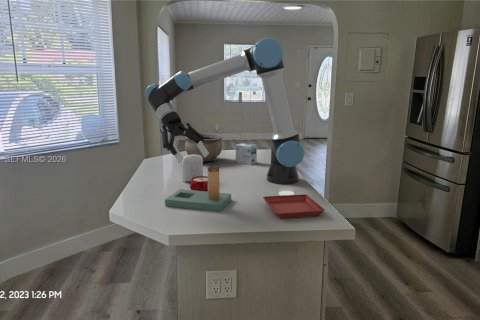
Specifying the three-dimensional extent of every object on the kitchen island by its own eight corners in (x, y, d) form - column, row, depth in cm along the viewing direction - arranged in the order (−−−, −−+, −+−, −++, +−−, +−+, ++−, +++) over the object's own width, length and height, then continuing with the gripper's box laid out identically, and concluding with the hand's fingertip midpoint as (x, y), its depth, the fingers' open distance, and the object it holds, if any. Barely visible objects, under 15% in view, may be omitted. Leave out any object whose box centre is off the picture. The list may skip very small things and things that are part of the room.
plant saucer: (325, 218, 130) (325, 209, 130) (276, 221, 127) (276, 212, 126) (305, 201, 148) (306, 193, 147) (262, 204, 144) (262, 196, 143)
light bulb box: (256, 163, 214) (257, 144, 212) (251, 165, 209) (251, 146, 206) (241, 160, 220) (241, 142, 217) (235, 162, 214) (235, 144, 212)
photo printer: (200, 177, 181) (199, 152, 178) (204, 179, 178) (204, 154, 175) (180, 180, 175) (180, 155, 173) (184, 182, 172) (184, 156, 169)
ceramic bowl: (202, 155, 234) (202, 131, 230) (230, 160, 221) (230, 135, 218) (177, 161, 216) (176, 136, 213) (205, 166, 204) (205, 139, 200)
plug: (220, 196, 144) (220, 166, 141) (217, 200, 140) (217, 169, 137) (210, 195, 145) (209, 165, 142) (206, 199, 141) (205, 168, 138)
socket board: (231, 199, 148) (231, 193, 148) (220, 211, 135) (220, 204, 134) (180, 194, 154) (180, 189, 153) (165, 205, 141) (164, 199, 140)
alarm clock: (213, 175, 171) (213, 176, 156) (213, 189, 171) (213, 191, 156) (190, 176, 170) (188, 177, 155) (190, 189, 170) (188, 192, 155)
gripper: (187, 120, 163) (212, 158, 157) (139, 125, 145) (165, 168, 138) (195, 109, 159) (221, 148, 153) (147, 112, 140) (173, 157, 134)
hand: (194, 158), depth 146 cm, fingers open, 13 cm apart
